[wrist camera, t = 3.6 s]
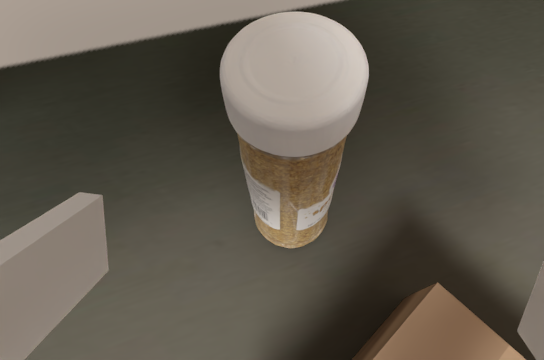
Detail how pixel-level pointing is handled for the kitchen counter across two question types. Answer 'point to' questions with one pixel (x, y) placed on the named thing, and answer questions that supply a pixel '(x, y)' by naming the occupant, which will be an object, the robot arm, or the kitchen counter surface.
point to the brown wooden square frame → (435, 332)
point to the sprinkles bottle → (293, 116)
